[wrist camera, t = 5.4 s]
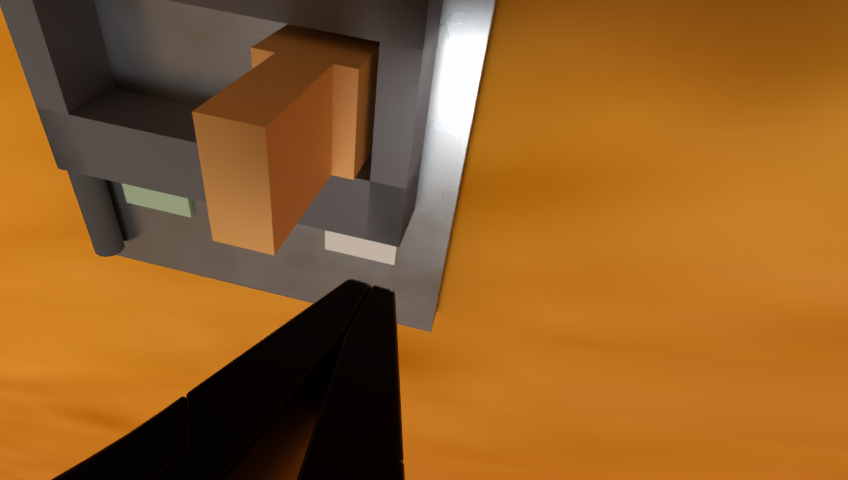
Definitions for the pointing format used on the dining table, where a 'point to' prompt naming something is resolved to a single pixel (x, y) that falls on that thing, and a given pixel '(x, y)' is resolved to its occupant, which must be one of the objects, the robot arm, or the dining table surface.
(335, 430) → the robot arm
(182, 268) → the panel
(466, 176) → the dining table surface
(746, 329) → the dining table surface
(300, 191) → the toggle
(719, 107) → the dining table surface
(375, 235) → the box
